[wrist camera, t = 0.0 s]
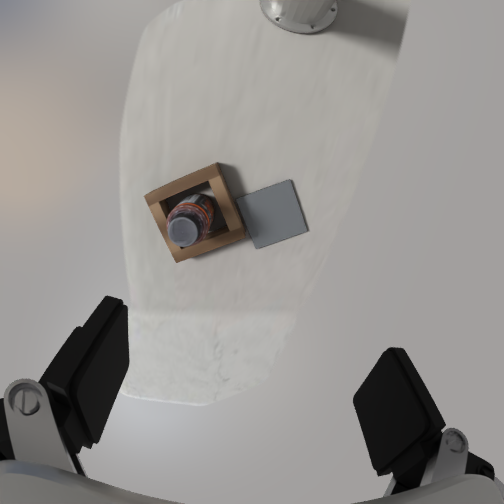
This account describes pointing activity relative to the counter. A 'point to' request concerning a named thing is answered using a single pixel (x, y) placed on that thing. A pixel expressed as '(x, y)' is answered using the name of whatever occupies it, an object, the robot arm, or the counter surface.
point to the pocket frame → (225, 202)
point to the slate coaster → (272, 214)
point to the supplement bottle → (190, 220)
